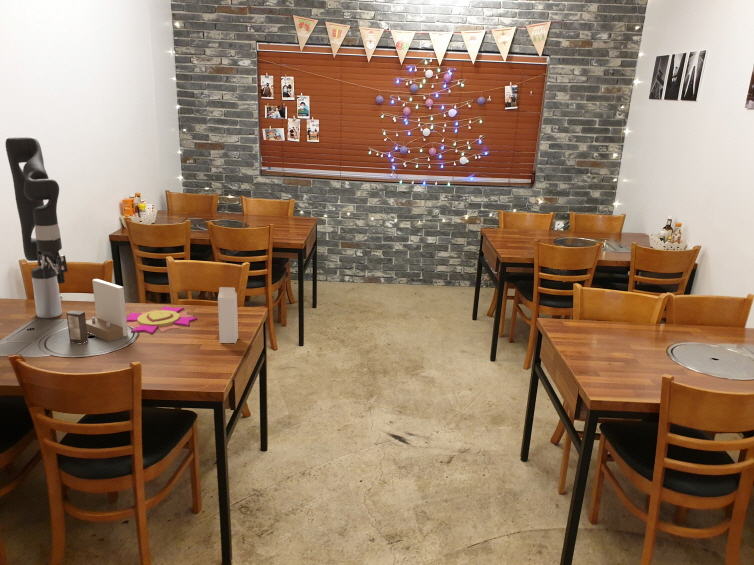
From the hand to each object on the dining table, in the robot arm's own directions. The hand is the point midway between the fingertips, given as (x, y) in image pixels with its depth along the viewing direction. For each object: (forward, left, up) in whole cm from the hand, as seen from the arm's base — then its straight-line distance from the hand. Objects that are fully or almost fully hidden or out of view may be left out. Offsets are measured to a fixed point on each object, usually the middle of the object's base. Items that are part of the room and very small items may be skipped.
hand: (54, 280), depth 209 cm
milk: (+43, +41, -26) cm, 65 cm away
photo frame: (0, +6, -26) cm, 27 cm away
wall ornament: (+4, +39, -27) cm, 48 cm away
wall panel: (0, +17, -26) cm, 31 cm away
